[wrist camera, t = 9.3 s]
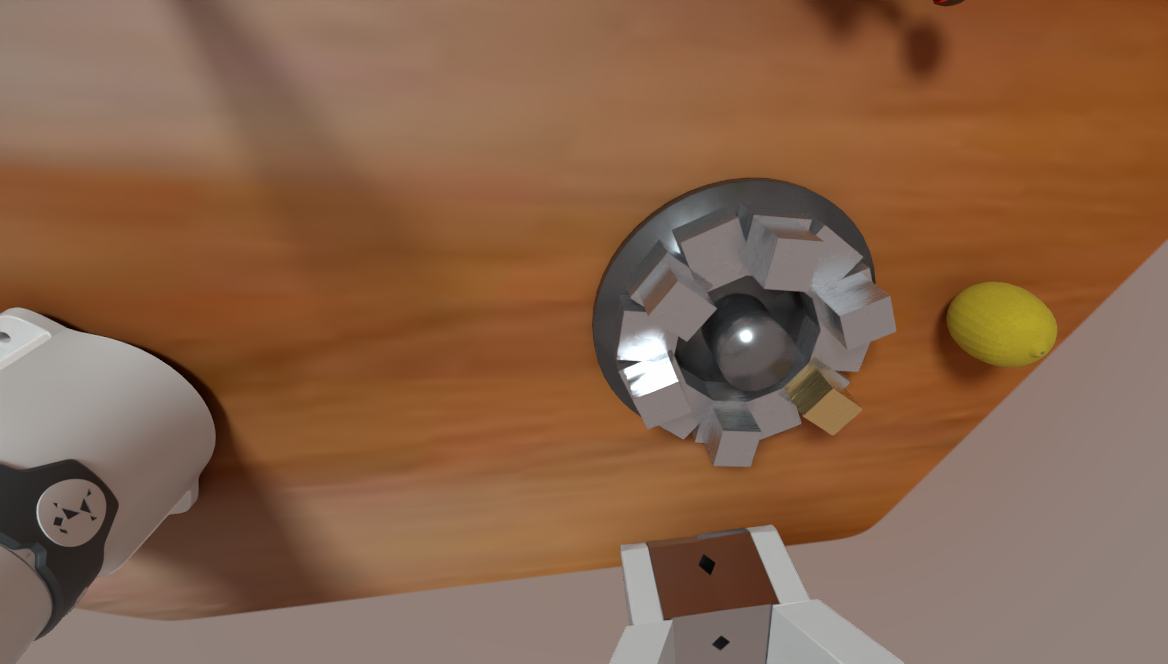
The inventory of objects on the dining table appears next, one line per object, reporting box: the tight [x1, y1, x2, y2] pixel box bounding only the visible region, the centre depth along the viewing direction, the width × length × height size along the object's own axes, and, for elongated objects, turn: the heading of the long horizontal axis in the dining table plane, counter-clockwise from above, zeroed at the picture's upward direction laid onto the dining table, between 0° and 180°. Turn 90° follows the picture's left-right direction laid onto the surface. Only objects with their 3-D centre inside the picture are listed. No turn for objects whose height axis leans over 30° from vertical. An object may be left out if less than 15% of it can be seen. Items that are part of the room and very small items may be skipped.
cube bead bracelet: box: [612, 203, 896, 467], centre depth 38 cm, size 18×18×6 cm
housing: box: [592, 178, 876, 434], centre depth 39 cm, size 21×21×6 cm
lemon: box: [946, 282, 1057, 368], centre depth 39 cm, size 6×6×8 cm
